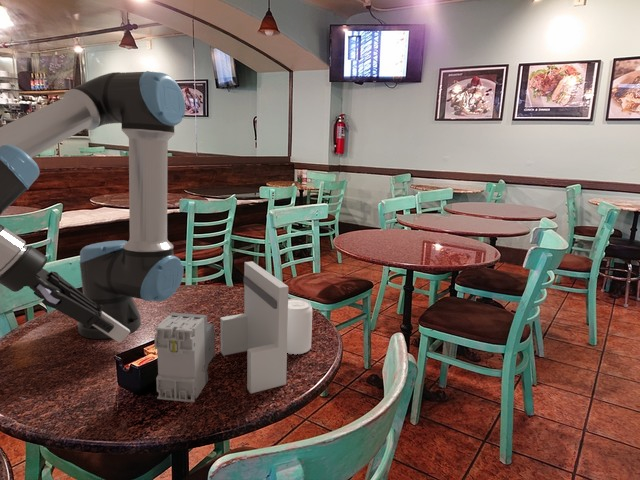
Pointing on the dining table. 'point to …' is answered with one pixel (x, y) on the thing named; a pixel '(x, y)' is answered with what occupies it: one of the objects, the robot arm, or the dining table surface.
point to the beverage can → (299, 326)
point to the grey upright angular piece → (260, 329)
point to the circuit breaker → (183, 355)
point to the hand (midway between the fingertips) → (124, 336)
